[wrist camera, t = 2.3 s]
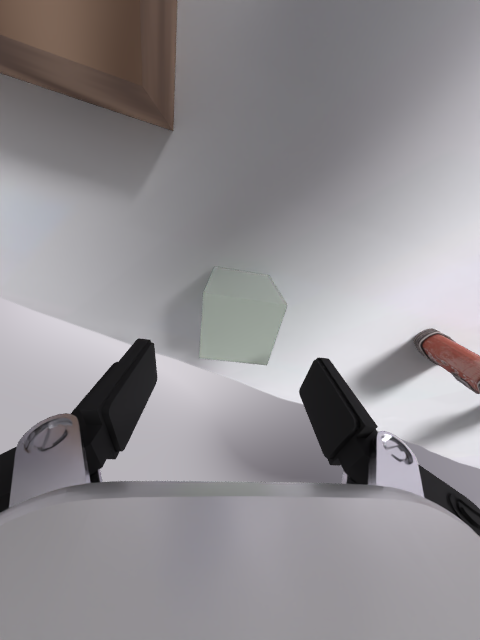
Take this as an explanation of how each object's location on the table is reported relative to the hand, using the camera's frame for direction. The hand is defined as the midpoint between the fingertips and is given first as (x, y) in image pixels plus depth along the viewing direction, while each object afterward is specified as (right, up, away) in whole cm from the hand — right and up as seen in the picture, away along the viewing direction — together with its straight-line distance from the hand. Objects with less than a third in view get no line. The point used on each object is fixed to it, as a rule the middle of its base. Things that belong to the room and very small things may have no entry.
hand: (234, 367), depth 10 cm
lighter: (+26, -1, +13) cm, 29 cm away
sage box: (0, +5, +8) cm, 10 cm away
